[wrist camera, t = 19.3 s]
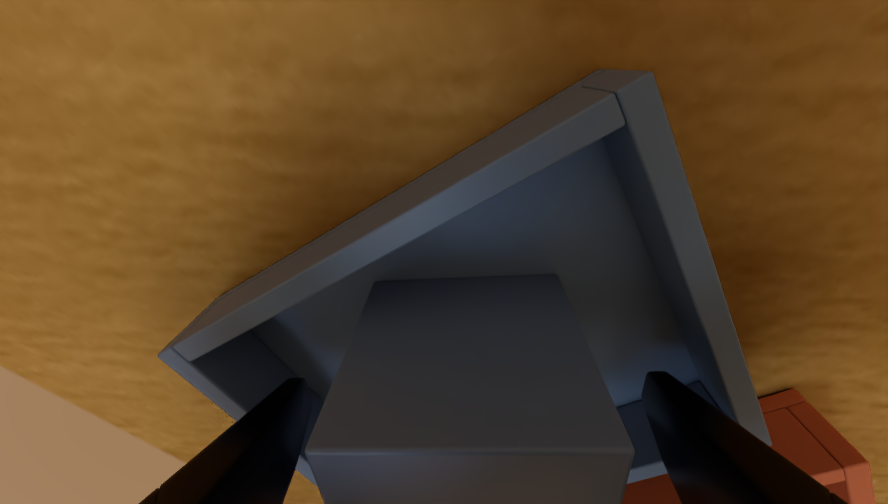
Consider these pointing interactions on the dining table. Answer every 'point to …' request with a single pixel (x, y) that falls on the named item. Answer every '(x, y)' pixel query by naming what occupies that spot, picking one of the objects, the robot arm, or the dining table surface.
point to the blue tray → (509, 263)
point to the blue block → (469, 401)
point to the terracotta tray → (789, 454)
